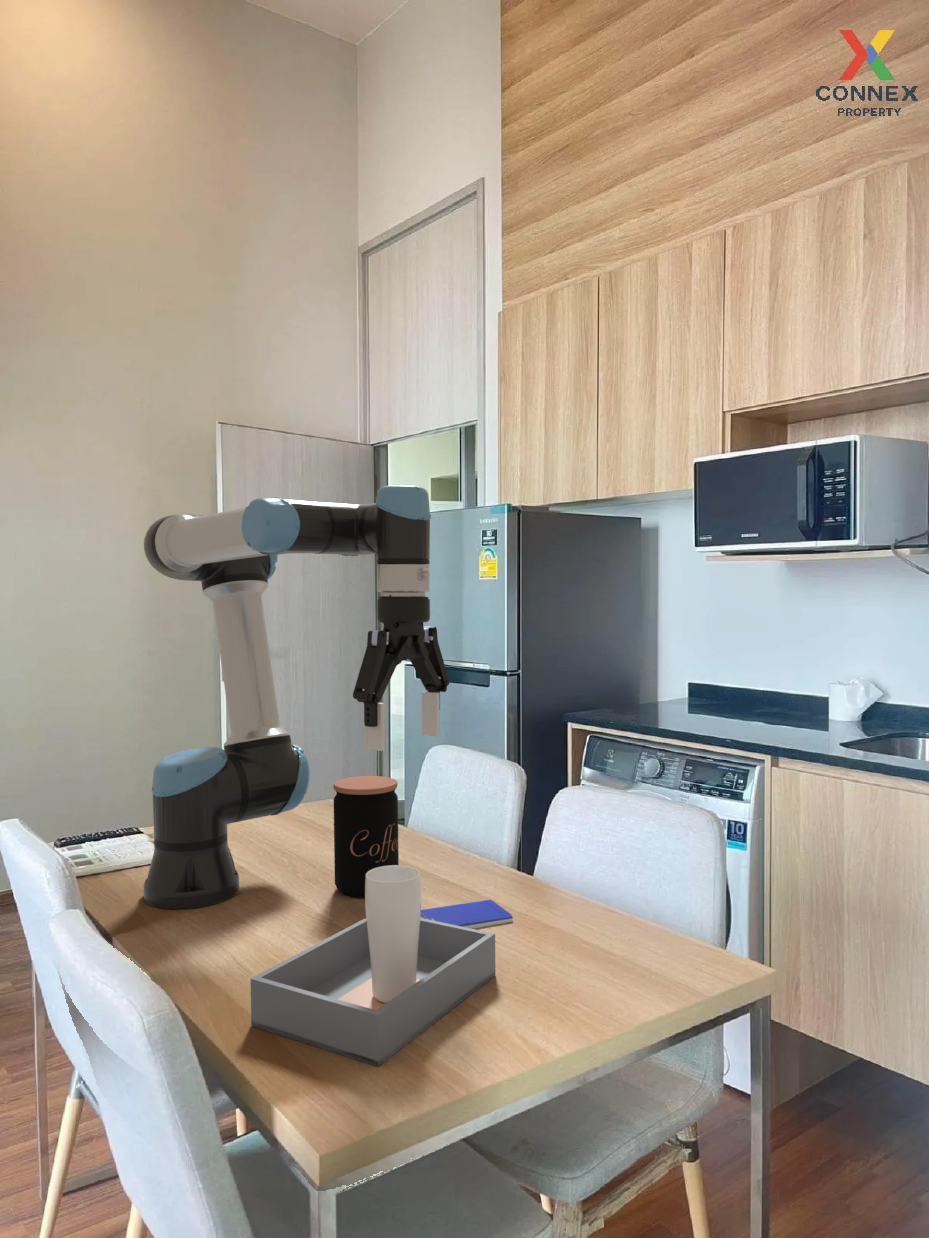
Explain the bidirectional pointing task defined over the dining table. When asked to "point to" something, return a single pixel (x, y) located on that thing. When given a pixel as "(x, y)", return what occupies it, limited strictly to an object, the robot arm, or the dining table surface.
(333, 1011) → the walled box
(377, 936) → the drinking glass
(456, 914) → the hard drive
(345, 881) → the coffee jar
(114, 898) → the dining table surface
